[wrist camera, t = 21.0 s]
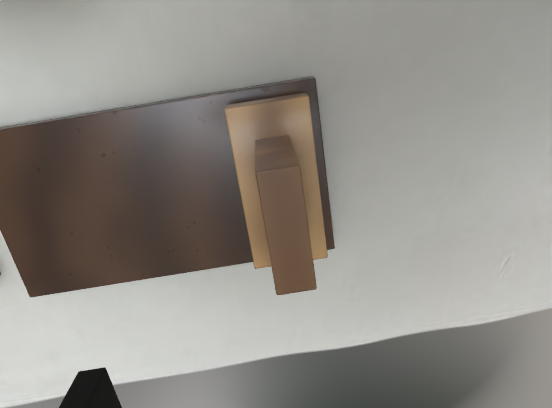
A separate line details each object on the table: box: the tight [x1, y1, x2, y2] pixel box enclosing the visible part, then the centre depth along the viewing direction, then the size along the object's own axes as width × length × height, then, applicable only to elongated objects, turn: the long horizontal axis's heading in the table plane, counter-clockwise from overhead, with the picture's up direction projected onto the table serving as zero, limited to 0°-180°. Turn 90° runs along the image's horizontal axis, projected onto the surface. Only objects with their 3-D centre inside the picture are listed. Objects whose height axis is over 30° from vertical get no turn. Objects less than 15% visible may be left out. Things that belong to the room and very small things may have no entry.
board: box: [0, 77, 335, 297], centre depth 36 cm, size 28×15×2 cm, turn 99°
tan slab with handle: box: [224, 93, 327, 295], centre depth 29 cm, size 6×13×12 cm, turn 9°
